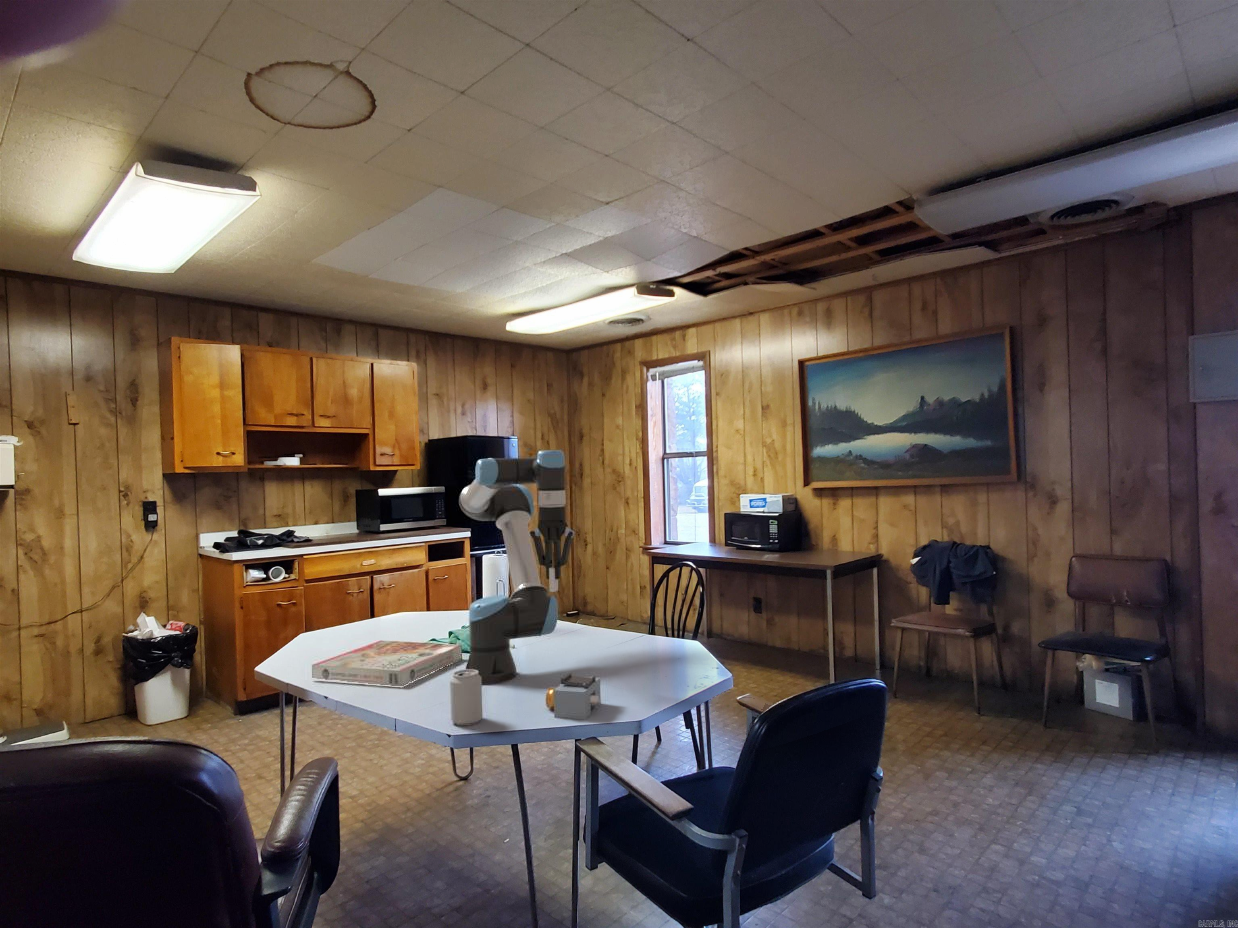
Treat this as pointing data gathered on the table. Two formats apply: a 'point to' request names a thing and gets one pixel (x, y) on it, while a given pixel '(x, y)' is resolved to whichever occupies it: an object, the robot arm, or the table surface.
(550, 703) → the pin
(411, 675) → the pizza box
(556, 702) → the bracket
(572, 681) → the plate
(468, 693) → the can
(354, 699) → the table surface
